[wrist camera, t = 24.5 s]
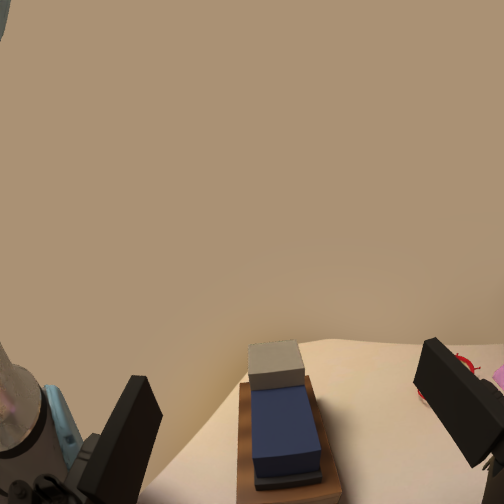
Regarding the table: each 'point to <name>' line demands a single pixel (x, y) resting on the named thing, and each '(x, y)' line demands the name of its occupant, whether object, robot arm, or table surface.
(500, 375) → the pink table lamp
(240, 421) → the low wooden table
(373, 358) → the table surface
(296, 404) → the stacked block toy
